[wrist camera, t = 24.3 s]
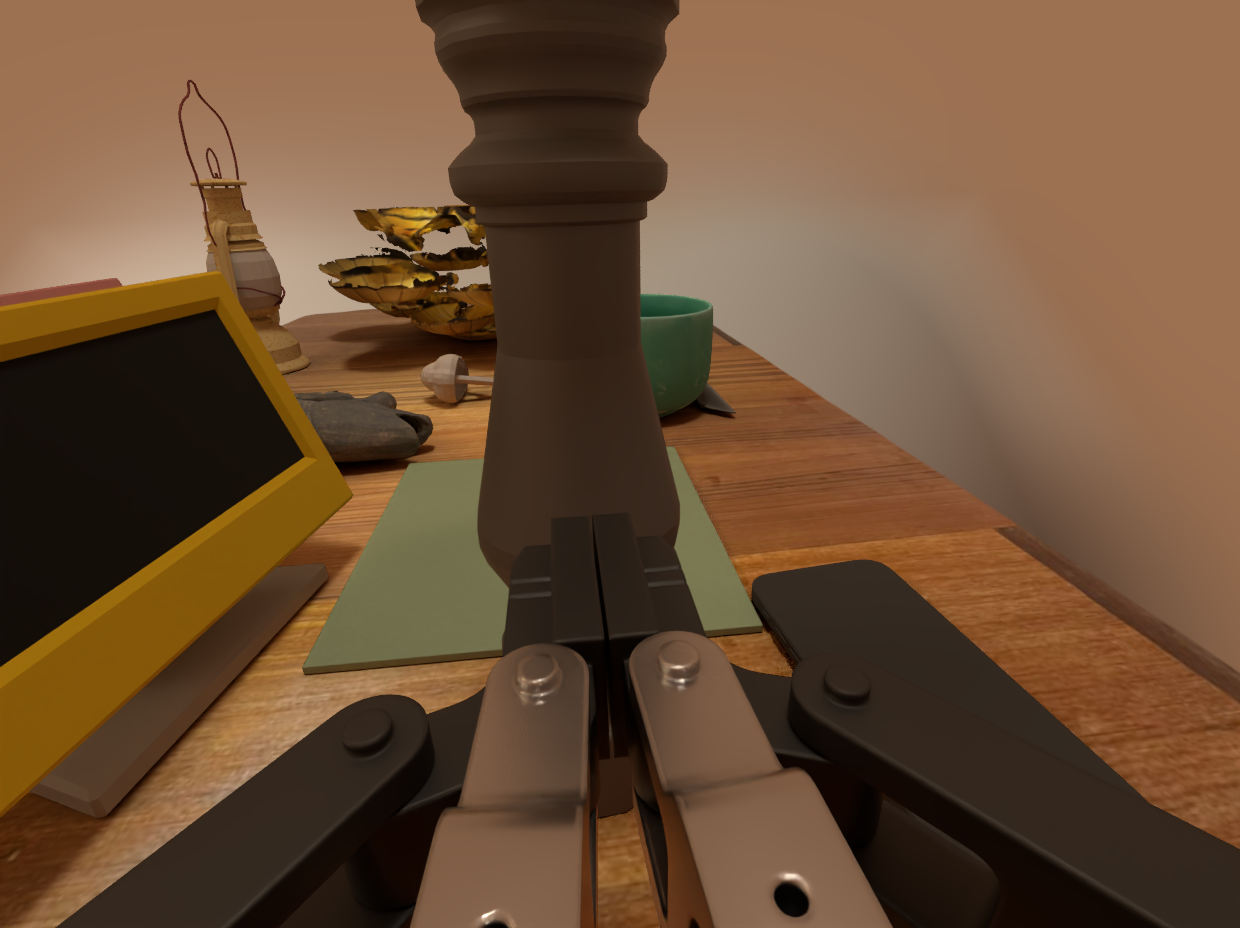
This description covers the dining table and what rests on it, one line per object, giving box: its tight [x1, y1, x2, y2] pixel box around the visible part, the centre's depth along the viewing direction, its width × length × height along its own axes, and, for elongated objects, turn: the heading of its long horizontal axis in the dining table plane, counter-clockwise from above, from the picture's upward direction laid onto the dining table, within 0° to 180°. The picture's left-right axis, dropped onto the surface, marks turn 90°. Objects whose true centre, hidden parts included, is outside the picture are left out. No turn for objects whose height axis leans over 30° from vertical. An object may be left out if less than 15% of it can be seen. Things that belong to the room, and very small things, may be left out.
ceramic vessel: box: [294, 391, 433, 463], centre depth 49 cm, size 5×25×15 cm
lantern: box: [178, 80, 310, 374], centre depth 68 cm, size 12×10×30 cm
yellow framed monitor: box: [0, 271, 353, 818], centre depth 23 cm, size 20×8×16 cm, turn 174°
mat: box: [302, 446, 763, 674], centre depth 36 cm, size 20×22×1 cm
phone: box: [752, 560, 1147, 866], centre depth 24 cm, size 7×1×15 cm
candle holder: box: [415, 0, 680, 818], centre depth 17 cm, size 6×6×25 cm
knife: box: [695, 383, 736, 413], centre depth 59 cm, size 14×4×1 cm, turn 8°
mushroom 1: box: [319, 205, 497, 341], centre depth 84 cm, size 41×45×17 cm
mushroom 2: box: [420, 354, 494, 403], centre depth 60 cm, size 7×5×12 cm
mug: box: [640, 294, 713, 418], centre depth 55 cm, size 17×13×10 cm
